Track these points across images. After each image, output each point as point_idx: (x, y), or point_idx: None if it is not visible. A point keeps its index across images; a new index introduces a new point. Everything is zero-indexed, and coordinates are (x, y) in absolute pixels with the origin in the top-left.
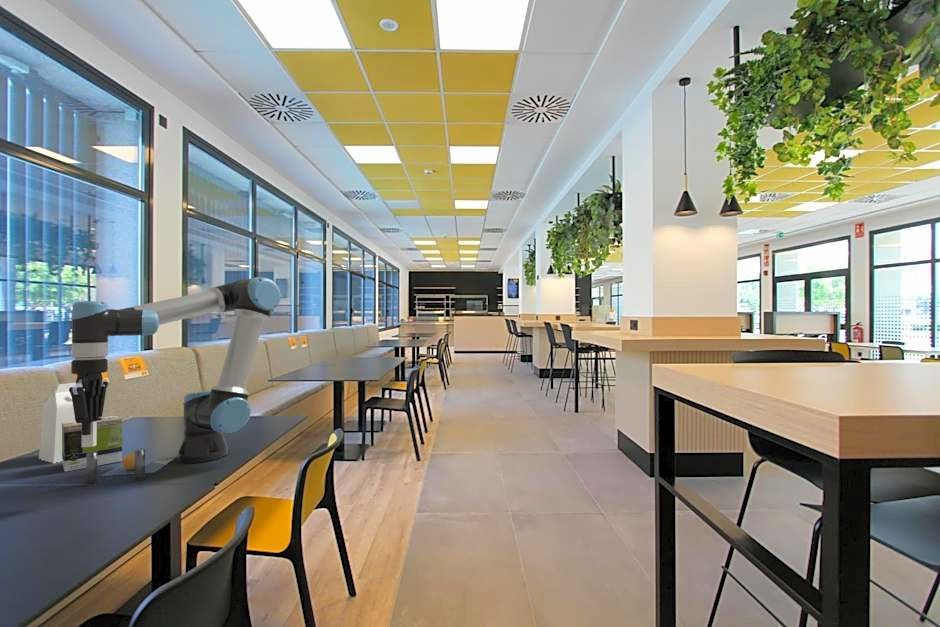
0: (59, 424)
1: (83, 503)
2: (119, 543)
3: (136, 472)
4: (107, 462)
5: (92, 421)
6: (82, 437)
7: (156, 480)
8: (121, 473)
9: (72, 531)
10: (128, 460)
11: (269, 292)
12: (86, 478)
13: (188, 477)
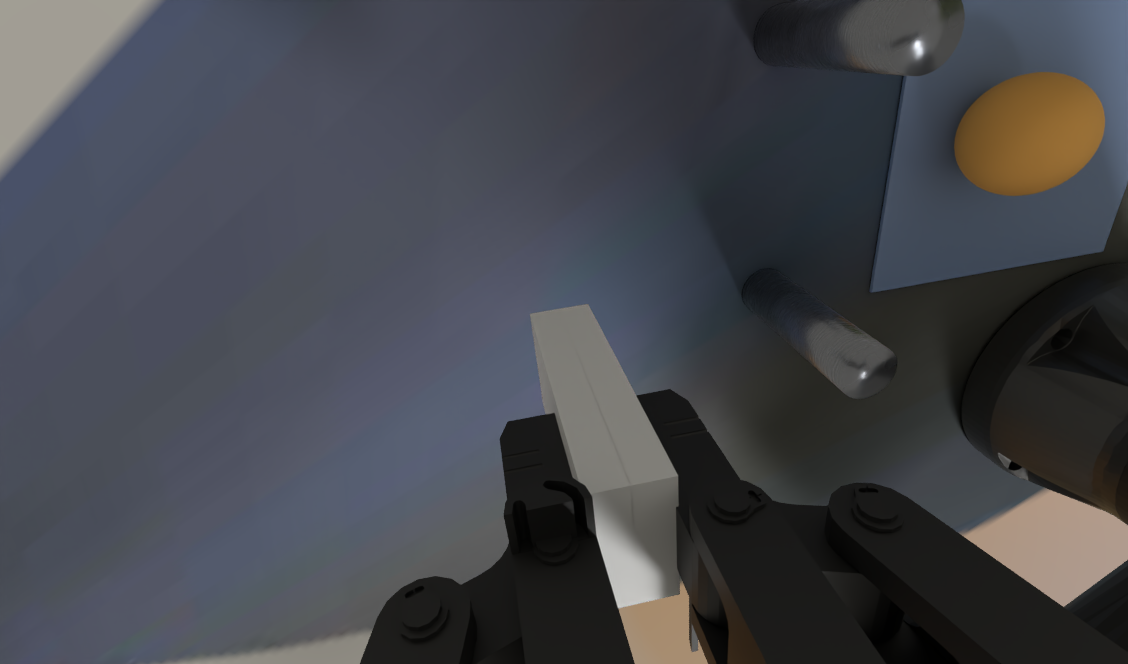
0: None
1: (439, 243)
2: (63, 653)
3: (767, 307)
4: None
5: (671, 558)
6: (547, 372)
7: (736, 372)
8: (920, 108)
9: (112, 446)
10: (995, 145)
11: None
12: (785, 11)
13: (741, 477)
